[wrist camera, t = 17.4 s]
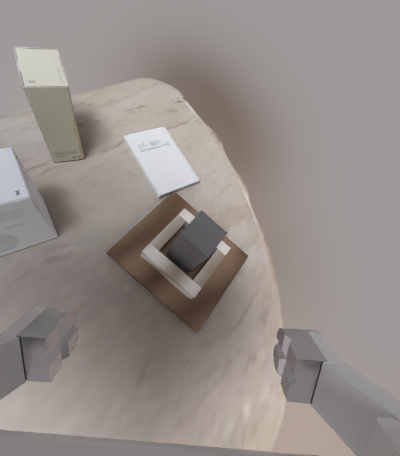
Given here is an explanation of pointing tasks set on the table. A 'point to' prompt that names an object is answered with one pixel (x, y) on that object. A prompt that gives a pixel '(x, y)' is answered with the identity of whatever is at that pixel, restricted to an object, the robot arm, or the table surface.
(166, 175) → the external hard drive
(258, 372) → the table surface
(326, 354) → the robot arm
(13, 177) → the skincare box
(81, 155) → the skincare box
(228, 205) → the table surface
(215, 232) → the plug
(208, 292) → the socket board
